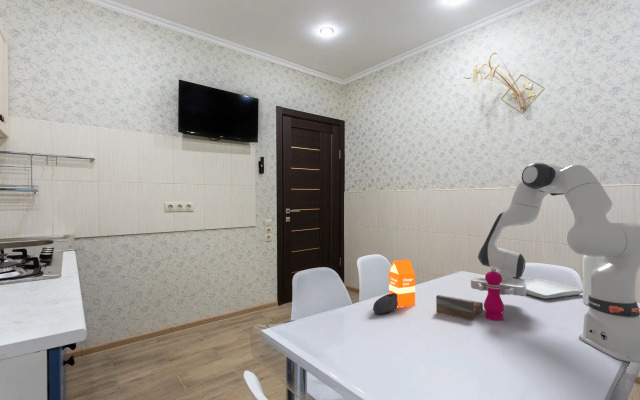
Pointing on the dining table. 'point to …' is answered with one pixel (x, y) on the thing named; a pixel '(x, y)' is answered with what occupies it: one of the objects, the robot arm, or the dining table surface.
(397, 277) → the orange juice
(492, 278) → the pepper mill
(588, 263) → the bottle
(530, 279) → the square plate
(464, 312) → the walnut stand
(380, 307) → the perforated stone tool
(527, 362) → the dining table surface
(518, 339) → the dining table surface
